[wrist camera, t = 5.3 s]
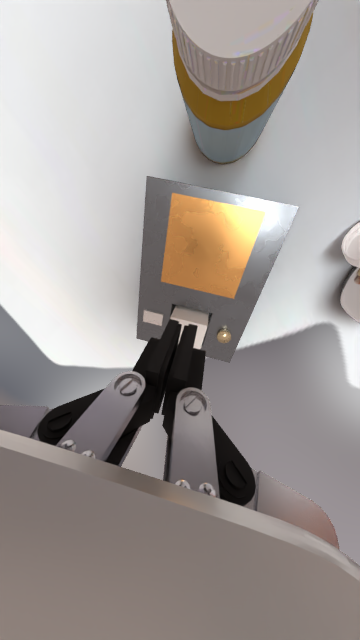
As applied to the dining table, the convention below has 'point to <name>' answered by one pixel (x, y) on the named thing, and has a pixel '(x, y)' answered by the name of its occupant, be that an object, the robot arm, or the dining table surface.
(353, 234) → the spread jar
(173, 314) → the switch
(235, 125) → the bottle
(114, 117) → the dining table surface
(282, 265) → the dining table surface
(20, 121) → the dining table surface
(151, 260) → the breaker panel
